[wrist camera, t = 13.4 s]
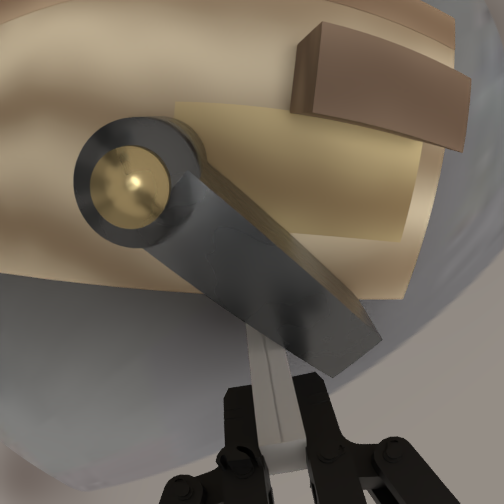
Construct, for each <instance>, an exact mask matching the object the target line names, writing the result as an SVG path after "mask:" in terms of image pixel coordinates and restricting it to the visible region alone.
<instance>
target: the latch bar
mask: <svg viewBox="0 0 504 504" xmlns="http://www.w3.org/2000/svg"><path fill="white" fill-rule="evenodd" d="M73 187H74V194H75V198H76V202H77V205H78V208H79V210H80V212H81V214H82V216H83V217H84V219H85V220H86V222H87V223H88V224H89V226H90V227H91V228H92V229H93V230H94V231H95V232H96V233H97V234H99V235H100V236H101V237H103V238H104V239H106V240H108V241H110V242H111V243H114V244H116V245H119V246H123V247H127V248H143V249H144V250H145V251H147V252H148V253H149V254H151V255H152V256H153V257H155V258H156V259H157V260H159V261H160V262H161V263H162V264H164V265H165V266H167V267H168V268H169V269H171V270H172V271H173V272H175V273H176V274H177V275H179V276H180V277H181V278H183V279H184V280H185V281H187V282H188V283H190V284H191V285H192V286H194V287H195V288H197V289H198V290H199V291H201V292H202V293H204V294H205V295H206V296H208V297H209V298H211V299H212V300H213V301H215V302H216V303H218V304H219V305H221V306H222V307H223V308H225V309H226V310H228V311H229V312H231V313H232V314H234V315H235V316H236V317H238V318H239V319H241V320H242V321H244V322H245V323H247V324H248V325H250V326H251V327H253V328H254V329H256V330H257V331H259V332H260V333H262V334H263V335H265V336H266V337H268V338H269V339H271V340H272V341H274V342H276V343H277V344H279V345H280V346H282V347H283V348H285V349H286V350H288V351H290V352H291V353H293V354H294V355H296V356H297V357H299V358H301V359H302V360H304V361H305V362H307V363H309V364H310V365H312V366H313V367H315V368H317V369H318V370H320V371H322V372H323V373H325V374H327V375H328V376H330V377H332V378H334V377H335V376H336V375H338V374H339V373H340V372H342V371H343V370H345V369H346V368H347V367H349V366H350V365H351V364H353V363H354V362H355V361H356V360H358V359H359V358H360V357H362V356H363V355H364V354H365V353H367V352H368V351H369V350H370V349H372V348H373V347H374V346H375V345H377V344H378V343H379V342H380V341H382V338H381V336H380V335H379V333H378V331H377V330H376V328H375V326H374V325H373V323H372V321H371V320H370V318H369V316H368V315H367V313H366V311H365V310H364V308H363V307H362V305H361V303H360V302H359V300H358V298H357V297H356V295H355V294H354V293H353V292H352V291H351V290H350V289H349V288H347V287H346V286H345V285H344V284H343V283H342V282H341V281H340V280H339V279H338V278H337V277H336V276H335V275H334V274H333V273H332V272H331V271H330V270H328V269H327V268H326V267H325V266H324V265H323V264H322V263H321V262H320V261H319V260H318V259H317V258H316V257H315V256H313V255H312V254H311V253H310V252H309V251H308V250H307V249H306V248H305V247H304V246H303V245H302V244H300V243H299V242H298V241H297V240H296V239H295V238H294V237H293V236H292V235H291V234H290V233H288V232H287V231H286V230H285V229H284V228H283V227H282V226H281V225H280V224H278V223H277V222H276V221H275V220H274V219H273V218H272V217H271V216H270V215H268V214H267V213H266V212H265V211H264V210H263V209H262V208H261V207H259V206H258V205H257V204H256V203H255V202H254V201H253V200H252V199H250V198H249V197H248V196H247V195H246V194H245V193H244V192H242V191H241V190H240V189H239V188H238V187H237V186H236V185H234V184H233V183H232V182H231V181H230V180H229V179H227V178H226V177H225V176H224V175H223V174H222V173H220V172H219V171H218V170H217V169H216V168H215V167H213V166H212V165H211V164H210V163H209V162H208V161H207V154H206V150H205V147H204V145H203V143H202V141H201V139H200V137H199V136H198V135H197V133H196V132H195V131H194V130H193V129H192V128H191V127H190V126H188V125H187V124H186V123H184V122H182V121H180V120H178V119H175V118H172V117H167V116H145V117H129V118H122V119H118V120H115V121H113V122H110V123H108V124H106V125H105V126H103V127H101V128H100V129H99V130H97V131H96V132H95V133H94V134H93V135H92V136H91V137H90V138H89V139H88V140H87V142H86V143H85V144H84V146H83V148H82V149H81V151H80V153H79V156H78V158H77V161H76V165H75V169H74V176H73Z"/></svg>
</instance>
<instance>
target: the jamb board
mask: <svg viewBox="0 0 504 504" xmlns="http://www.w3.org/2000/svg"><path fill="white" fill-rule="evenodd" d="M454 50H455V19H454V18H453V17H451V16H449V15H447V14H446V13H444V12H442V11H440V10H438V9H436V8H434V7H432V6H431V5H429V4H427V3H425V2H422V1H420V0H0V273H6V274H13V275H20V276H27V277H35V278H42V279H50V280H58V281H67V282H75V283H84V284H94V285H103V286H113V287H124V288H135V289H146V290H158V291H171V292H185V293H200V294H204V293H202V292H201V291H199V290H198V289H197V288H195V287H194V286H192V285H191V284H190V283H188V282H187V281H185V280H184V279H183V278H181V277H180V276H179V275H177V274H176V273H175V272H173V271H172V270H171V269H169V268H168V267H167V266H165V265H164V264H162V263H161V262H160V261H159V260H157V259H156V258H155V257H153V256H152V255H151V254H149V253H148V252H147V251H145V250H144V249H143V248H127V247H123V246H119V245H116V244H114V243H111V242H110V241H108V240H106V239H104V238H103V237H101V236H100V235H99V234H97V233H96V232H95V231H94V230H93V229H92V228H91V227H90V226H89V224H88V223H87V222H86V220H85V219H84V217H83V216H82V214H81V212H80V210H79V208H78V205H77V202H76V198H75V194H74V187H73V176H74V169H75V165H76V161H77V158H78V156H79V153H80V151H81V149H82V148H83V146H84V144H85V143H86V142H87V140H88V139H89V138H90V137H91V136H92V135H93V134H94V133H95V132H96V131H97V130H99V129H100V128H101V127H103V126H105V125H106V124H108V123H110V122H113V121H115V120H118V119H122V118H129V117H145V116H167V117H172V118H175V119H178V120H180V121H182V122H184V123H186V124H187V125H188V126H190V127H191V128H192V129H193V130H194V131H195V132H196V133H197V135H198V136H199V137H200V139H201V141H202V143H203V145H204V147H205V150H206V154H207V161H208V162H209V163H210V164H211V165H212V166H213V167H215V168H216V169H217V170H218V171H219V172H220V173H222V174H223V175H224V176H225V177H226V178H227V179H229V180H230V181H231V182H232V183H233V184H234V185H236V186H237V187H238V188H239V189H240V190H241V191H242V192H244V193H245V194H246V195H247V196H248V197H249V198H250V199H252V200H253V201H254V202H255V203H256V204H257V205H258V206H259V207H261V208H262V209H263V210H264V211H265V212H266V213H267V214H268V215H270V216H271V217H272V218H273V219H274V220H275V221H276V222H277V223H278V224H280V225H281V226H282V227H283V228H284V229H285V230H286V231H287V232H288V233H290V234H291V235H292V236H293V237H294V238H295V239H296V240H297V241H298V242H299V243H300V244H302V245H303V246H304V247H305V248H306V249H307V250H308V251H309V252H310V253H311V254H312V255H313V256H315V257H316V258H317V259H318V260H319V261H320V262H321V263H322V264H323V265H324V266H325V267H326V268H327V269H328V270H330V271H331V272H332V273H333V274H334V275H335V276H336V277H337V278H338V279H339V280H340V281H341V282H342V283H343V284H344V285H345V286H346V287H347V288H349V289H350V290H351V291H352V292H353V293H354V294H355V295H356V297H357V298H358V299H403V297H404V295H405V292H406V289H407V287H408V284H409V281H410V278H411V276H412V273H413V270H414V267H415V264H416V261H417V258H418V255H419V252H420V249H421V245H422V242H423V239H424V235H425V232H426V229H427V225H428V221H429V218H430V214H431V210H432V206H433V202H434V198H435V194H436V190H437V185H438V181H439V176H440V172H441V167H442V161H443V156H444V151H445V148H447V149H451V150H454V151H458V152H461V153H463V148H464V142H465V136H466V129H467V121H468V113H469V103H470V92H471V78H469V77H467V76H465V75H464V74H462V73H460V72H458V71H456V70H454Z"/></svg>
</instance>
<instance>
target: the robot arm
mask: <svg viewBox="0 0 504 504" xmlns="http://www.w3.org/2000/svg"><path fill="white" fill-rule="evenodd" d="M245 325H246V335H247V345H248V354H249V364H250V373H251V382H252V385H247V386H240V387H233V388H228V390H227V393H226V395H225V397H224V431H225V447H224V448H222V449H221V451H220V452H219V453H218V455H217V459H216V463H217V464H218V467H217V468H216V469H215V470H212V471H210V472H208V473H205V474H202V475H199V476H196V477H193V476H190V475H178V476H175V477H173V478H172V479H170V480H169V481H168V482H167V484H166V486H165V488H164V491H163V493H162V496H161V499H160V502H159V504H274V498H273V491H272V487H271V484H270V478H269V475H275V474H280V473H287V472H293V471H298V470H303V469H308V473H309V477H310V488H311V489H312V494H313V498H314V503H315V504H367V503H366V499H365V496H364V493H363V490H367V491H368V492H369V494H370V495H371V497H372V498H373V499H374V501H375V502H376V504H460V503H459V501H458V500H457V499H456V498H455V497H454V495H453V494H452V493H451V492H450V491H449V489H448V488H447V487H446V486H445V485H444V484H443V482H442V481H441V480H440V479H439V477H438V476H437V475H436V474H435V473H434V471H433V470H432V469H431V468H430V467H429V465H428V464H427V463H426V462H425V461H424V459H423V458H422V457H421V456H420V455H419V453H418V452H417V451H416V450H415V449H414V447H413V446H412V445H411V444H410V443H409V442H408V441H407V440H405V439H404V438H401V437H389V438H386V439H383V440H382V441H381V442H380V443H379V444H356V443H353V442H350V441H349V440H347V439H345V437H344V436H343V435H342V433H341V431H340V429H339V426H338V422H337V419H336V417H335V413H334V410H333V407H332V404H331V402H330V398H329V395H328V393H327V389H326V386H325V383H324V380H323V379H322V378H321V377H320V376H319V375H318V374H317V373H316V372H312V373H308V374H303V375H299V376H294V377H291V372H290V368H289V364H288V360H287V356H286V352H285V348H283V347H282V346H280V345H279V344H277V343H276V342H274V341H272V340H271V339H269V338H268V337H266V336H265V335H263V334H262V333H260V332H259V331H257V330H256V329H254V328H253V327H251V326H250V325H248V324H247V323H245Z"/></svg>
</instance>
